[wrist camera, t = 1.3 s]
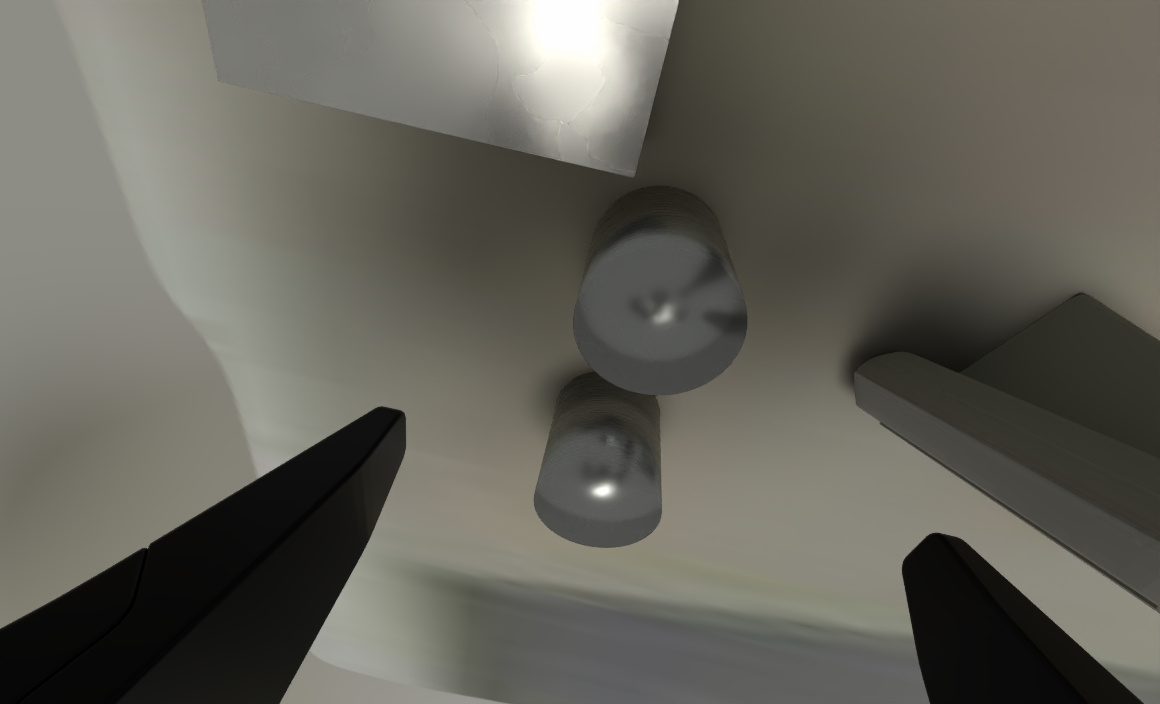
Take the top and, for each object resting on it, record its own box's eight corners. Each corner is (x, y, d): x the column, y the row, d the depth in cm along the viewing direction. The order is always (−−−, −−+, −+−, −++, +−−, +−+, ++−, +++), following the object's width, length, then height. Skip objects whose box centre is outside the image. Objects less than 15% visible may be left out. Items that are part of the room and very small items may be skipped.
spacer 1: (743, 203, 16) (776, 271, 12) (698, 319, 18) (711, 409, 14) (607, 171, 16) (592, 229, 12) (580, 293, 18) (560, 375, 14)
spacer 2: (673, 384, 20) (678, 481, 16) (644, 458, 22) (642, 558, 18) (566, 360, 20) (543, 450, 16) (549, 437, 22) (526, 532, 18)
